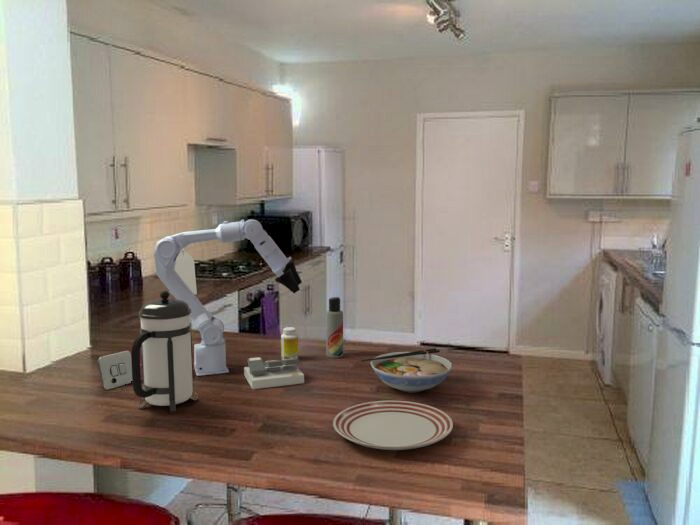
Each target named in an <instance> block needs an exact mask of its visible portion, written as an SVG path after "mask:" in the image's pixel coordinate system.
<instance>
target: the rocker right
mask: <svg viewBox="0 0 700 525" xmlns="http://www.w3.org/2000/svg"><path fill="white" fill-rule="evenodd" d="M279 361H282V363H283V365H300V358H297V359H293V358H290V359H282V358H281V360H279Z"/></svg>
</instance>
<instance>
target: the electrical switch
mask: <svg viewBox="0 0 700 525" xmlns="http://www.w3.org/2000/svg"><path fill="white" fill-rule="evenodd" d="M131 355H132V352H131V351H129V350H124V351H119V352H116V353H113V354H108V355H107V354H106V355H103V356H99V358H98V359H97V360H96V363H97V370H98V375H99V379H100V383H101V384H100V385H101V387H102V388H103V389H104V390H110V389H115V388H119V387H121V386H125V384H126V385H129V384H132V383H131V381H132V359H131Z"/></svg>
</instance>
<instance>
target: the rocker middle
mask: <svg viewBox="0 0 700 525" xmlns="http://www.w3.org/2000/svg"><path fill="white" fill-rule="evenodd" d="M263 363H264V366H265V367H277V366H283V363H282V361H280V360H278V359H273V360H266V361H263Z"/></svg>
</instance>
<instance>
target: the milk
mask: <svg viewBox="0 0 700 525" xmlns="http://www.w3.org/2000/svg"><path fill="white" fill-rule="evenodd" d="M195 267H196V265H195V259H194V258H193V257H192V256H191V254H189V253H188V252H187V251H186V250H185V248H183V249H182V250H181V251H180V253H179V255H178V256H177V258H176V263H175V268H174V270H175V271H176V272H177V274H178V275H179V276H180V277H181V279H182V280H183V281H184V282H185V284H186V285H187V286H188V287H189V289H190V290H191V291H192V292H193V294H194V295H197V294H198V293H197V291H198V290H197V280H196V279H197V278H196V268H195ZM168 291H169V290H168ZM168 293H169V294H171V295H172V293H171V292H170V291H169V292H168Z"/></svg>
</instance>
